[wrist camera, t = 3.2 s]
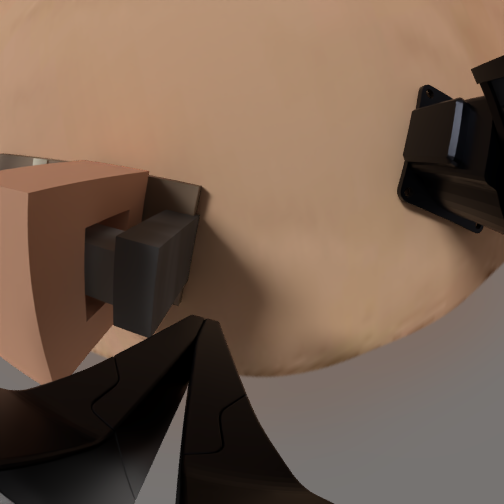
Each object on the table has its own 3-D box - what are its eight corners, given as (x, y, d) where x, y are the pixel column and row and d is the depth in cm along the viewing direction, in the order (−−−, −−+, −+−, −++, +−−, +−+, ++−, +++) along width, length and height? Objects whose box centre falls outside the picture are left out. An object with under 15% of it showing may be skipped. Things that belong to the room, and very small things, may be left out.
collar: (149, 171, 12) (28, 193, 5) (134, 300, 14) (56, 393, 7) (85, 160, 12) (-35, 177, 5) (78, 279, 14) (-9, 349, 7)
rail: (205, 186, 13) (166, 204, 8) (184, 302, 15) (149, 364, 10) (1, 153, 13) (-54, 161, 8) (-1, 235, 15) (-49, 258, 10)
